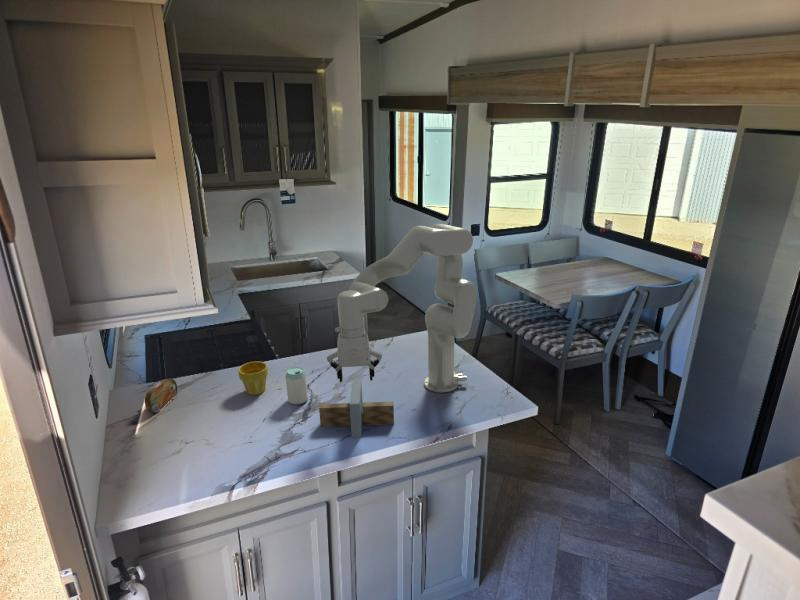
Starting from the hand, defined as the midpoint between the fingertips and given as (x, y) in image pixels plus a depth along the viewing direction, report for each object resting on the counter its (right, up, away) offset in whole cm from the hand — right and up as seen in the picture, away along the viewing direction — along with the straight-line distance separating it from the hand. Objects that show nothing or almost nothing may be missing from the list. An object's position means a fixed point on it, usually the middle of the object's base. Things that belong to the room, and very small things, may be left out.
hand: (356, 379), depth 167 cm
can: (-22, -11, +20) cm, 32 cm away
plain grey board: (0, -15, +5) cm, 16 cm away
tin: (-70, -12, +19) cm, 74 cm away
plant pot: (-40, -9, +27) cm, 49 cm away
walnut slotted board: (0, -15, +5) cm, 16 cm away
